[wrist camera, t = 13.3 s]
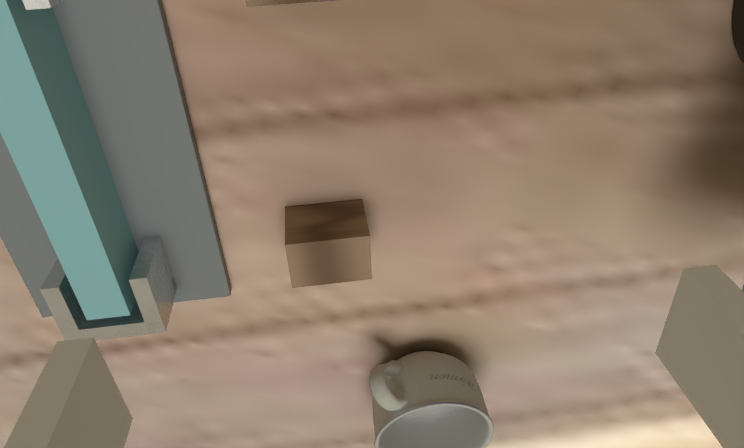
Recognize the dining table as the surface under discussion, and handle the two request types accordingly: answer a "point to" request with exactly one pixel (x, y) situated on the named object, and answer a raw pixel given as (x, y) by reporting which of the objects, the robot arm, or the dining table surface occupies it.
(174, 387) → the dining table surface
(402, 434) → the teacup
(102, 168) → the slat
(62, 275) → the end caps
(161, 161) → the cap board
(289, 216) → the block
